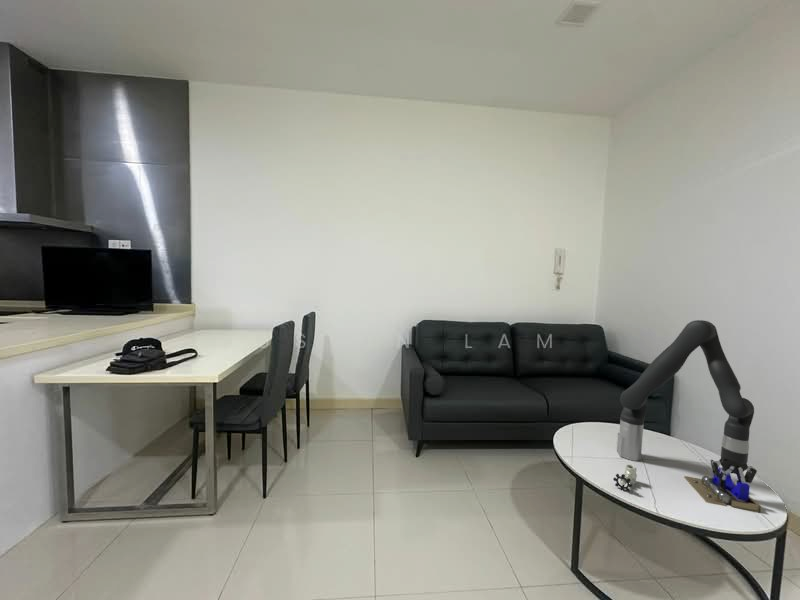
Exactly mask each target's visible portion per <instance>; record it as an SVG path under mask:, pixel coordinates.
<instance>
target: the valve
mask: <svg viewBox="0 0 800 600" xmlns="http://www.w3.org/2000/svg"><path fill="white" fill-rule="evenodd" d="M637 478H638V475H637V467H636V466H634V465H632V464H626V465H625V471H624V473H622V474H621V476H620V474H619V473H616V474H615V477H613V481H614V482H616V483H615V484H614V486H615V487H619V489H620V491H622V490H623V491H624V490H626V491H627V492H630V491H631V489H632V488H633V484H634V485H635V484H636V481H637ZM619 479H620V480H619ZM619 481H620V482H619ZM629 483H630V484H629ZM626 484H627V485H626ZM625 485H626V486H625ZM630 488H631V489H630Z"/></svg>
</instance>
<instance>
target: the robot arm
mask: <svg viewBox="0 0 800 600" xmlns="http://www.w3.org/2000/svg"><path fill="white" fill-rule="evenodd" d="M699 347H700V348H701V351H702V352H703V355H704V357H705V360H706V363H707V364H706V365H707V368H708V371H709V375H710V376H711V379H712V380H713V382H714V385H715V386H716V389H717V391H718V396H719V399H720V402H721V406H722V408H723V410H724V412H726V414H727V415H728V418H727V420H726V421H725V422H724V427H723V434H722V438H721V439H722V440H721V448H720V449H721V450H720V459H719V460H713V459H710V460H709V461H710V466H711V469H712V473H713V476H714V475H716V476H717V477H718V478H719V482H718V484H719V485H720V487H721V488H722V489H725V486H726V478H727V476H729V475H730V476H731V474H735V476H736V478H737V479H738V480H736V483H737V482H740V483H746V484H748V483H749V484H752V482H753V480H754V478H755V476H756V474H757V472H758V470H757V469H756V468H754V466H751V465H748V460H749V450H750V429H751V425H752V421H753V419H754V415H755V407H754V406H755V405H754V404H753V403H752V401H750V400H749V399H747V398H745V397H742V394H741V389H742V388H741V384H740V382H739V380H738V377H737V376H736V374H735V372H734V370H733V368H732V366H731V365H730V362H729V360H728V359H727V357H726V354H725V353H724V349H723V347H722V345H721V341H720V338H719V334H718V331H717V327H716V326H715V324H713V323H712V322H710V321H708V320H702V319H701V320H699V319H698V320H692V321H690V322H688V323H687V324H686V325H685V326H684V327H683V329H682V330H681V332H680V333H679V334H678V335H677V337H676V338H675V339H674V340H673V342H672V343H671V344H670V345H668V346H667V347H666V348H665V349H664V350H663V351H662V352H661V353H660V354H659V355H658V356H657V357H655V358H654V360H652V361H651V363H650V364H649V365H648V366H647V367H646V369H645V370H643V372H642V374H641V375H640V376H639V377H638V379H637V380H636V381H635V382H634V383H632V384H631V385H630V386H629V387H627V388H626V389H625V390H623V391H622V392H621V394H620V398H619V402H620V403H621V405H622V406H623V408H622V411H621V414H620V420H619V422H620V423H619V432H618V433H617V441H616V452H617V454H618V455H619V457H620V458H624V459H627V460H630V461H638V462H639V461H641V459H642V451H643V450H642V449H643V448H642V447H643V438H644V437H643V435H644V426H645V425H644V423H645V419H646V416H647V415H646V414H647V407H648V398H649V396H650V395H651V394H652V393H653V392H655V391H656V390H657V389H659V388H660V387H662V386H663V385H665V384H666V383H667V382H668V381H670V380H672V379H671V378H673V377H674V376H675V375H676V374H677V373H678V372H679V371H680V370H681V369H682V368H683V366H684V364H685V363H686V362H687V360H688V358H689V356H690V355H691V354H692V353H693V352H694V351H695V350H696V349H697V348H699ZM720 466H721V467H720ZM719 467H720V468H721V469H720V473H719ZM725 470H726V471H725ZM745 471H746V472H745ZM744 472H745V474H744Z"/></svg>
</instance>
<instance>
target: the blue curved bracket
mask: <svg viewBox="0 0 800 600" xmlns="http://www.w3.org/2000/svg"><path fill="white" fill-rule="evenodd" d="M721 468H722V467H720V466H719V467H718V469H719V473H720V469H721ZM725 471H726V470H725ZM713 477H714V478H713V480H714V482H715V483H717V484H718V482H719V478H718V477H717V476H716V475H714V474H713ZM732 481H733V480H732V477H731V474H730V475H729V476H727V478H726V486H725V490H728V491H729V492H731V493H732V494H733V495H734V496H735V497H736V498H738V499H739V500H745V501H748V498H749V496H750V485H749V484H748V483H740V482H737V481H736V486H735V485H734V484H733V482H734V481H733V482H732ZM718 485H719V484H718ZM719 486H720V485H719Z"/></svg>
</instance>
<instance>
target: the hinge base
mask: <svg viewBox="0 0 800 600" xmlns="http://www.w3.org/2000/svg"><path fill="white" fill-rule="evenodd" d="M683 478H684V479H685V480H686V482H688V484H690V486H691V487H692V488H693V489H694V491H696V493H698V495H699V496H700V497H701V498H702V499H703V500H704V502H705V503H710V504H714V505H715V504H716V505H719V506H720V505H721V506H726V505H727V506H730V507H731V508H736V509H740V510H745V511H751V512H755V513H761V509H762V506H761V505H760V504H759V503H758V502H757V501H756V500H754V499H753V498H752V497H751V495H749V498H748V501H745V500H739V499H738V498H736V497H735V496H734V495H733V494H732V493H731V492H729V491H728V490H725V489H722V488H721V487H720V486H719V485H718V484H717V483H715V482H714V480H713V478H714V476H713V477H712V476H709V475H704V476H702V478H700V477H699V478H698V477H693V476H687V475H684V477H683ZM732 482H733V484H734V485H735V486H736V485H737V483H735V482H734V481H733V480H732Z"/></svg>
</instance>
